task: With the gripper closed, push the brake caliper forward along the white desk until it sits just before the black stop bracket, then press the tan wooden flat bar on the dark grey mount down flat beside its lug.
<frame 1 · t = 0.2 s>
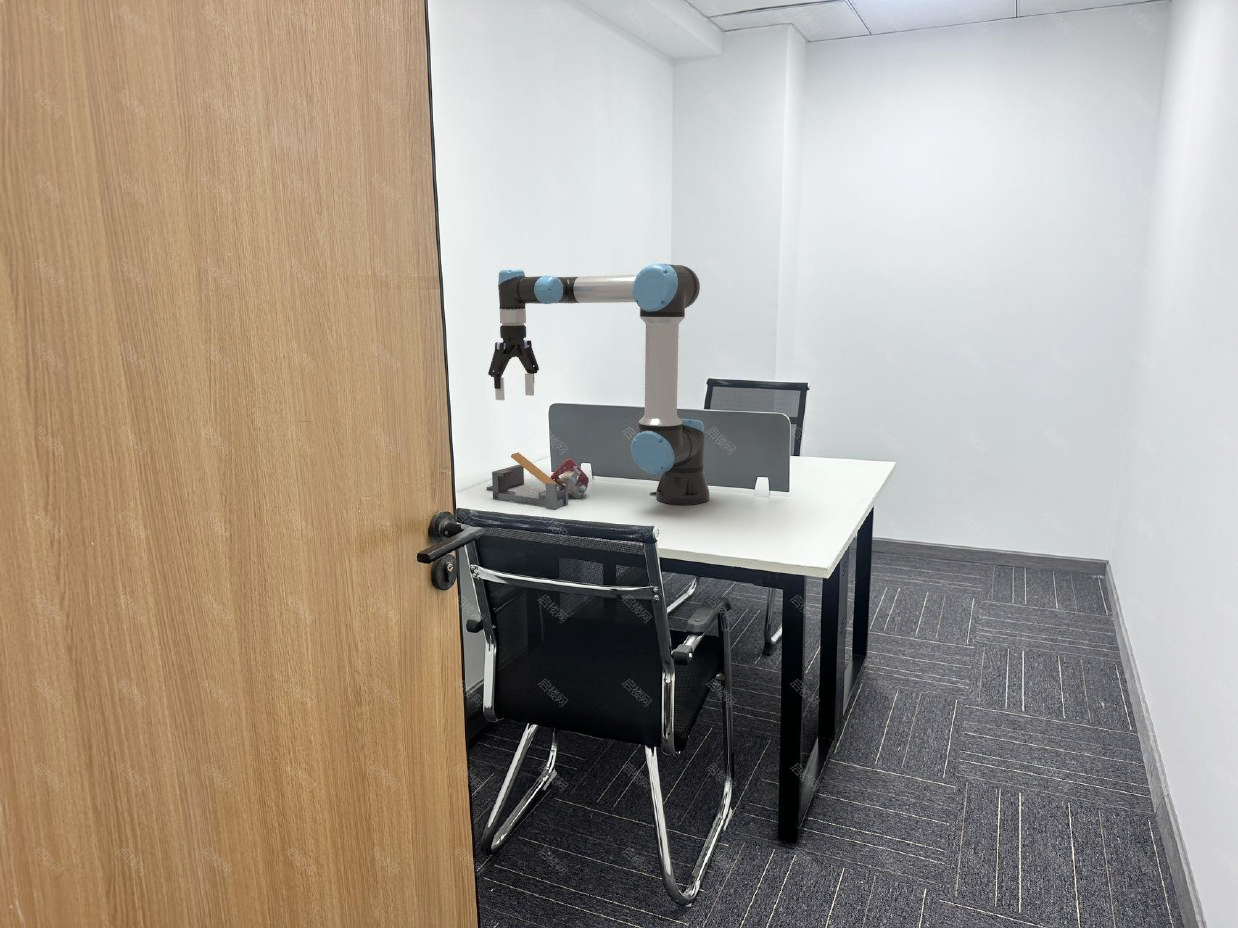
hand: (515, 397, 248), 28 cm above the table, fingers open, 13 cm apart
brake caliper: (569, 497, 244), on the table
stop bracket: (509, 487, 255), on the table
tan wooden flat bar: (536, 472, 233), point 9 cm above the table, hinge at 30.0°
clip base: (528, 502, 237), on the table
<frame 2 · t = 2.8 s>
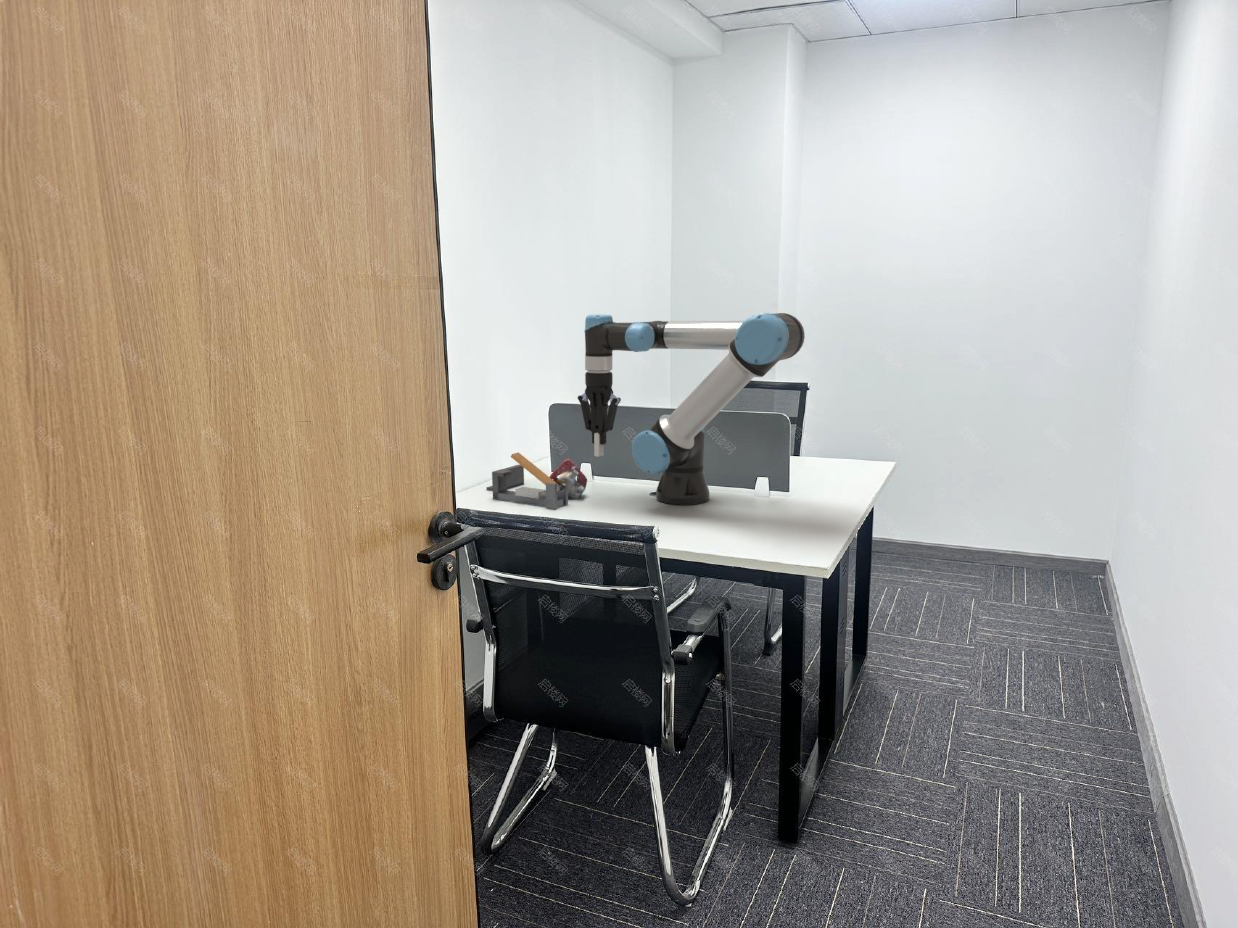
hand: (599, 455, 236), 13 cm above the table, fingers closed
nothing on the table moved.
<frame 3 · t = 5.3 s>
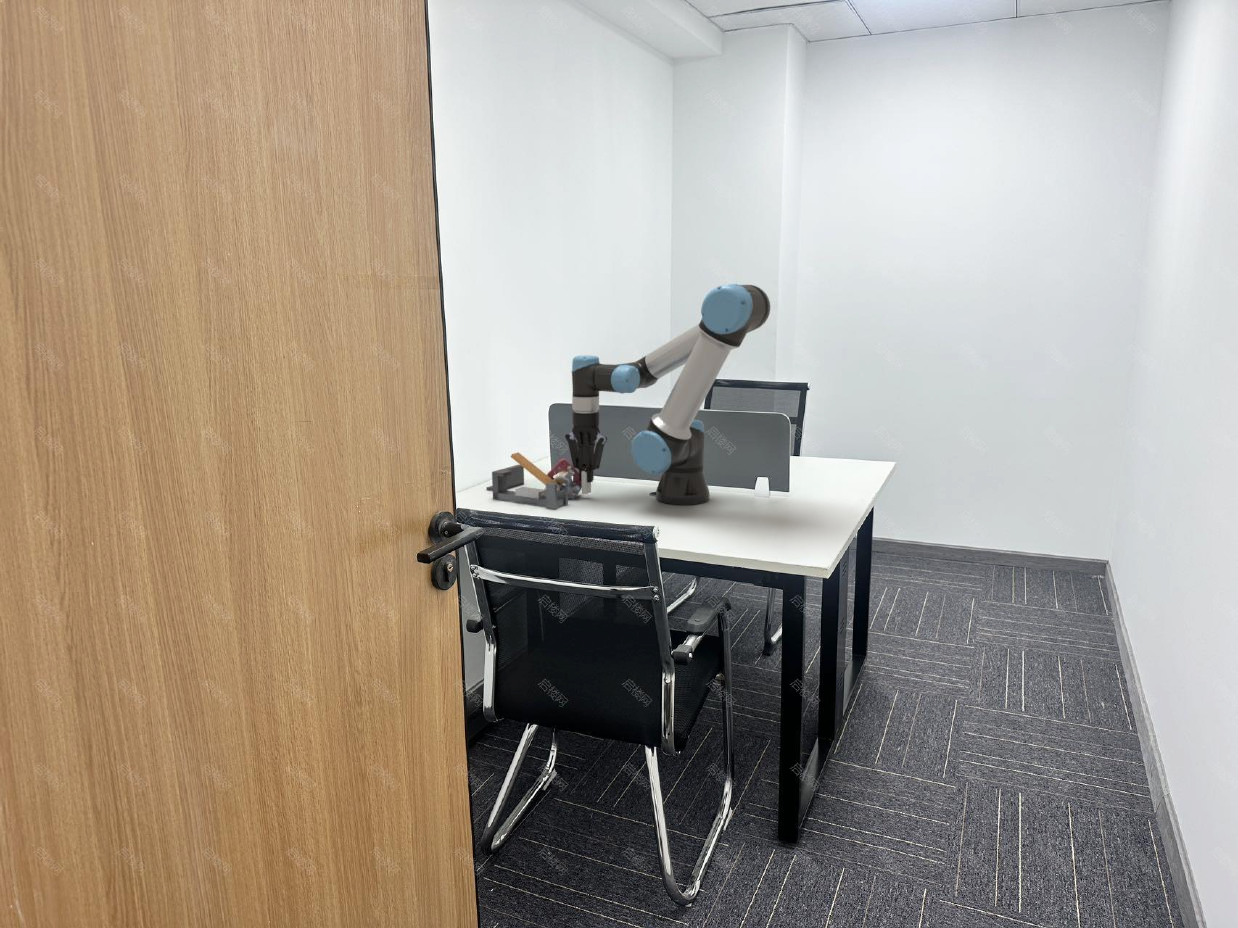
hand: (586, 492, 241), 2 cm above the table, fingers closed
brake caliper: (563, 497, 243), on the table, touching gripper
everything else where it was.
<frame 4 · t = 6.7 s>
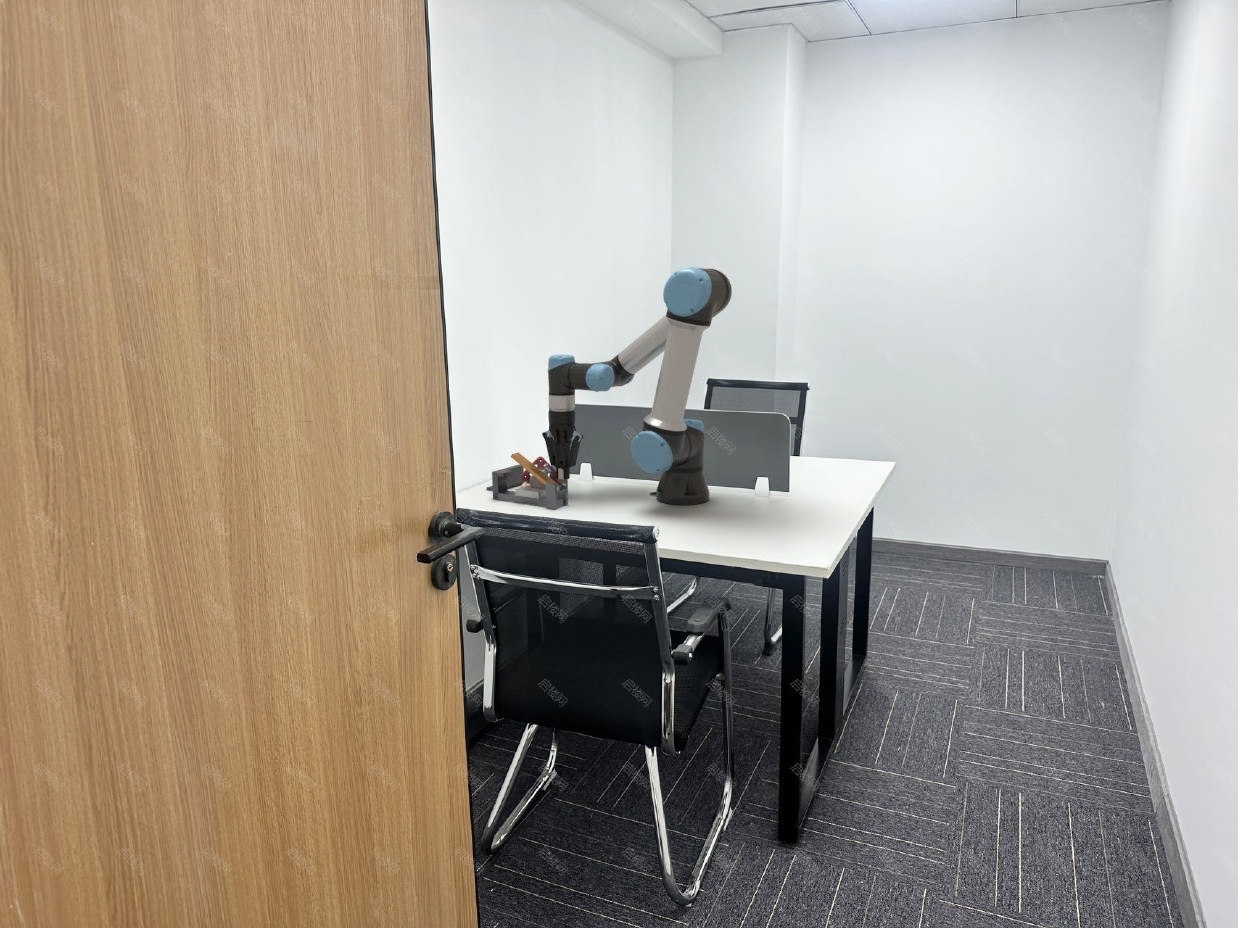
hand: (563, 489, 245), 2 cm above the table, fingers closed
brake caliper: (540, 494, 246), on the table, touching gripper
everything else where it was.
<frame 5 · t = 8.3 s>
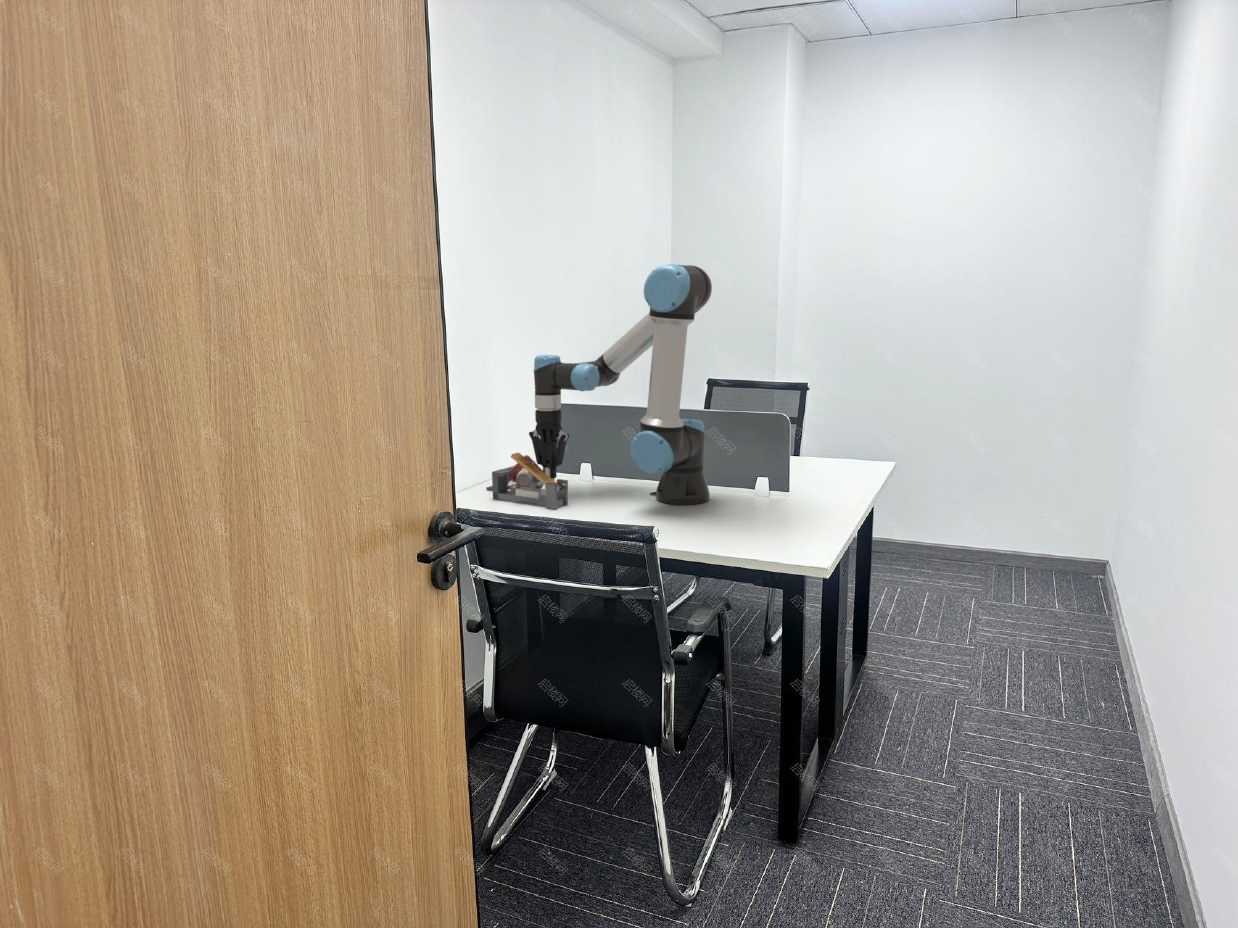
hand: (550, 488, 247), 1 cm above the table, fingers closed
brake caliper: (526, 493, 249), on the table, touching gripper
everything else where it was.
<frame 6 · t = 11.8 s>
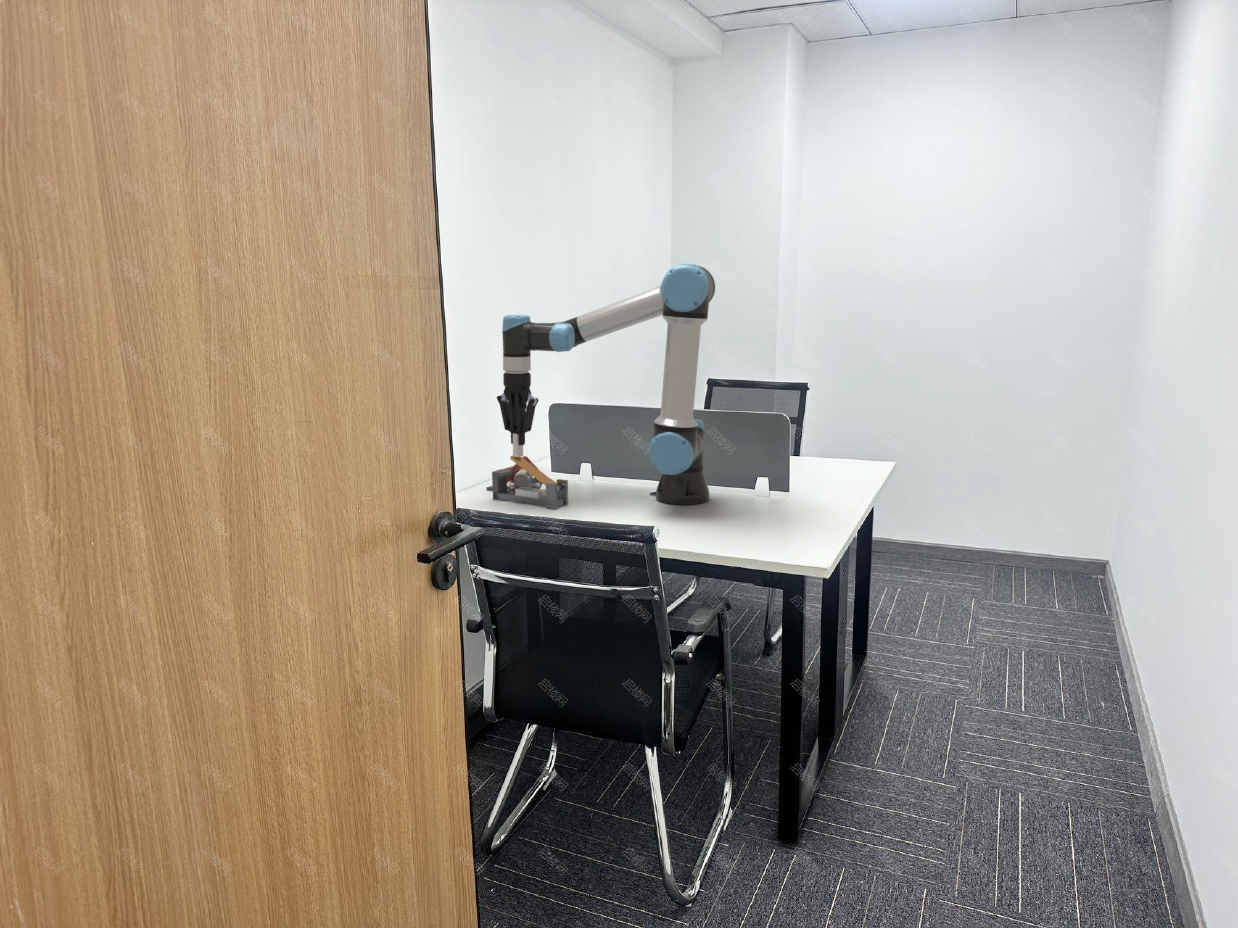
hand: (518, 456, 236), 13 cm above the table, fingers closed
brake caliper: (525, 494, 248), on the table
tan wooden flat bar: (536, 473, 234), point 9 cm above the table, hinge at 27.8°, touching gripper
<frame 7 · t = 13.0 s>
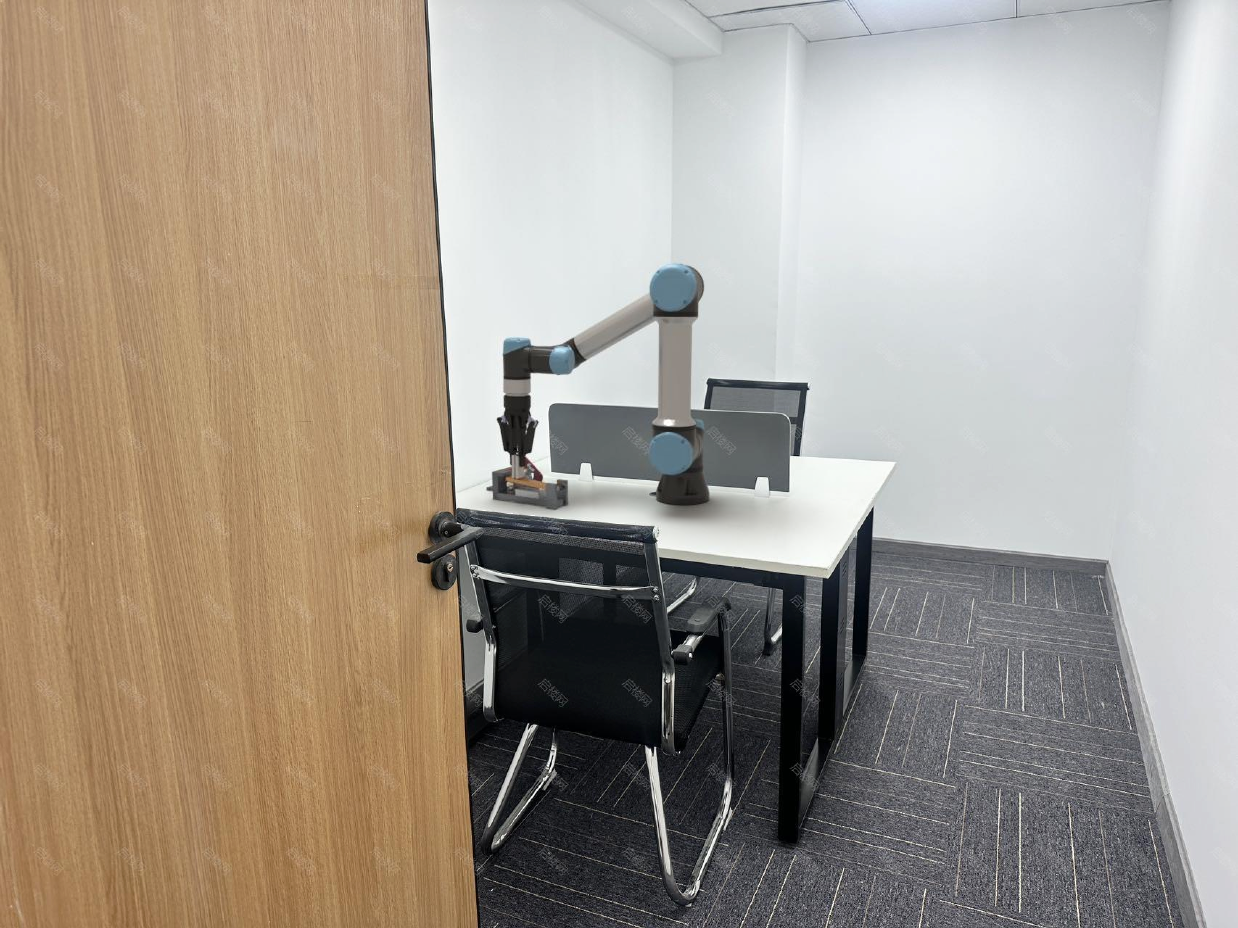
hand: (517, 477, 237), 7 cm above the table, fingers closed, pressing on tan wooden flat bar
tan wooden flat bar: (533, 483, 235), point 6 cm above the table, hinge at 4.7°, touching gripper
everything else where it was.
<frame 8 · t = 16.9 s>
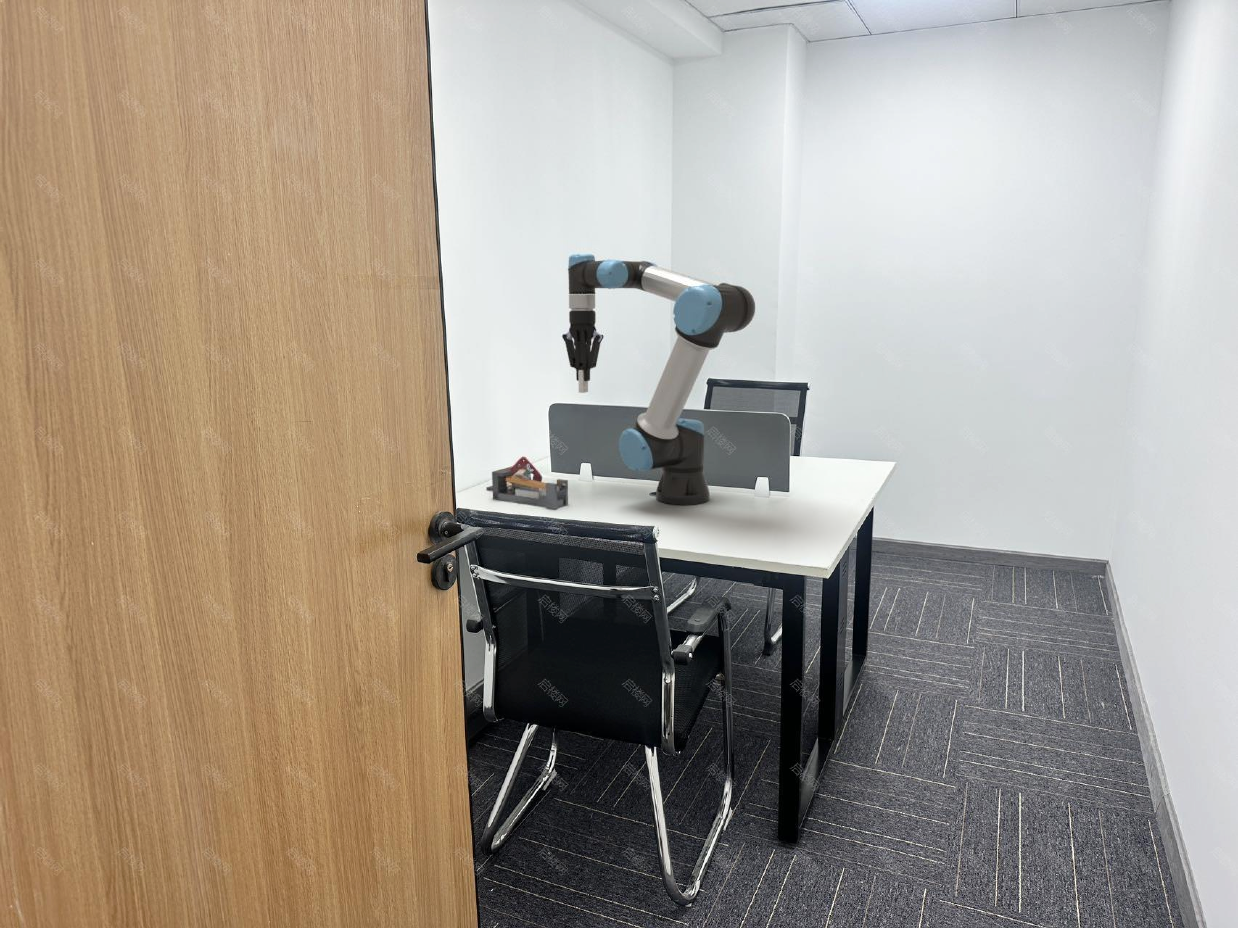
hand: (583, 392, 245), 29 cm above the table, fingers closed
tan wooden flat bar: (533, 483, 235), point 6 cm above the table, hinge at 4.2°
everything else where it was.
at the end: brake caliper inside the target area (4.5 cm from its centre), on the table; tan wooden flat bar at +4° (first picture: +30°) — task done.
